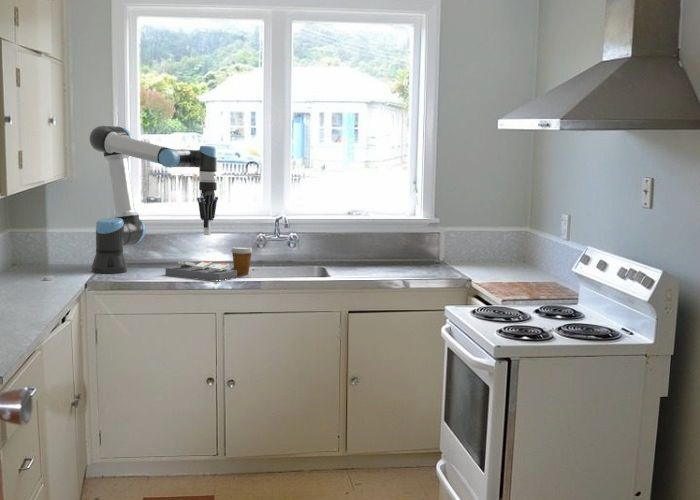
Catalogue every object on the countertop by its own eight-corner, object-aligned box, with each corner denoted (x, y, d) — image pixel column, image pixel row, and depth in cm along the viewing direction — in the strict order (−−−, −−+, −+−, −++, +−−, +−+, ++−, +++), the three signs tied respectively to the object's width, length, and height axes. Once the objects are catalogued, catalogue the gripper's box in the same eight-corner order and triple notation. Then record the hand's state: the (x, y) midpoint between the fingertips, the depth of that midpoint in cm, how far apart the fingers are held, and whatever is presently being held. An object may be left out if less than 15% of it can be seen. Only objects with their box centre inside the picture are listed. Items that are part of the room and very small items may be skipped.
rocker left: (177, 263, 373) (178, 260, 373) (186, 265, 380) (187, 262, 380) (185, 264, 372) (186, 261, 372) (194, 265, 378) (195, 262, 378)
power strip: (165, 275, 371) (165, 266, 370) (184, 271, 383) (184, 263, 383) (219, 281, 359) (219, 272, 359) (237, 277, 372) (237, 269, 371)
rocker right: (212, 270, 366) (211, 267, 366) (220, 265, 372) (220, 262, 372) (220, 271, 364) (220, 268, 364) (229, 266, 370) (229, 263, 370)
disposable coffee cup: (248, 276, 377) (248, 249, 375) (227, 274, 379) (228, 248, 377) (254, 273, 386) (255, 247, 385) (234, 272, 388) (235, 246, 386)
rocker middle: (194, 268, 370) (194, 265, 370) (203, 263, 376) (203, 260, 376) (203, 269, 368) (202, 266, 368) (212, 264, 374) (211, 261, 374)
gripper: (206, 182, 362) (205, 236, 365) (223, 181, 374) (222, 234, 377) (192, 181, 365) (191, 235, 368) (209, 180, 377) (208, 233, 380)
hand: (207, 234), depth 372 cm, fingers closed
